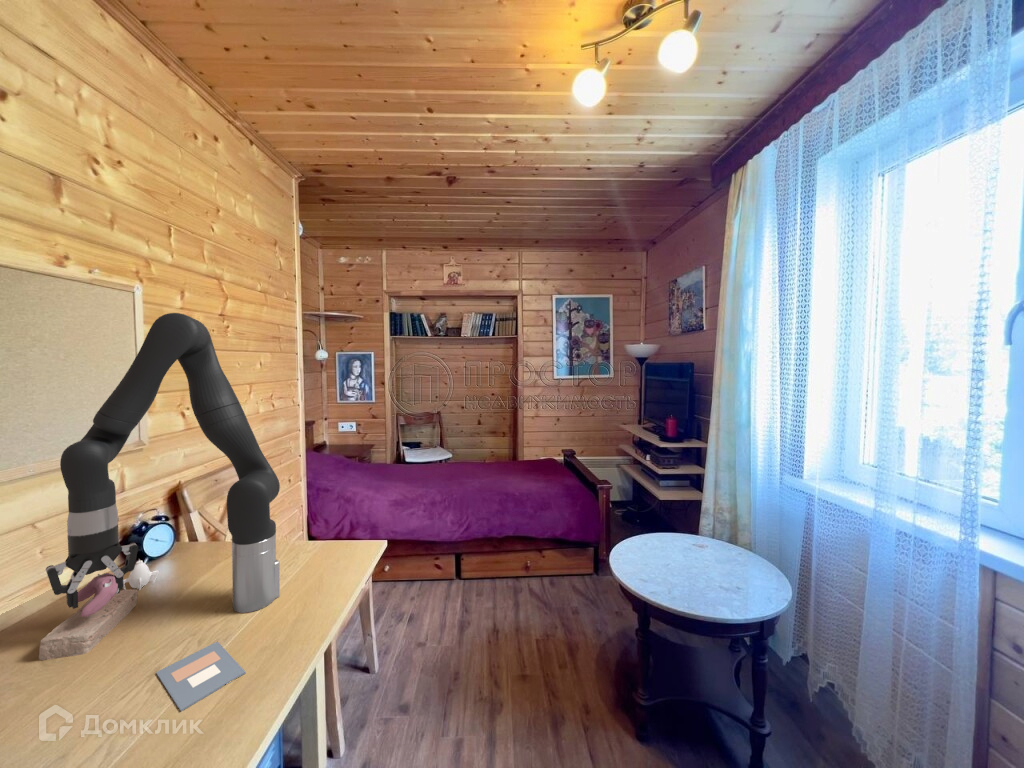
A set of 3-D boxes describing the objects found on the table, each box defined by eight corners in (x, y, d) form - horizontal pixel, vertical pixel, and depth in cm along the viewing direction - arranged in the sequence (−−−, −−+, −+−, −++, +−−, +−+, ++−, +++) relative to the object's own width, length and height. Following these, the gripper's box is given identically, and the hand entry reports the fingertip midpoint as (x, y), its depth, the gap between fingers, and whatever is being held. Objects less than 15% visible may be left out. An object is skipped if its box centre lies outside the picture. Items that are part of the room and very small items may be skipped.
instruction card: (217, 642, 82) (217, 641, 82) (245, 673, 74) (245, 671, 74) (156, 673, 73) (156, 671, 73) (180, 711, 66) (180, 709, 66)
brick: (89, 654, 78) (88, 632, 78) (35, 663, 75) (34, 641, 75) (139, 605, 94) (139, 587, 93) (96, 611, 91) (95, 592, 91)
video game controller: (107, 617, 82) (126, 582, 84) (78, 618, 78) (99, 583, 81) (97, 600, 87) (115, 568, 89) (70, 601, 84) (89, 568, 86)
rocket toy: (139, 581, 103) (139, 553, 103) (159, 581, 103) (159, 553, 103) (119, 593, 98) (118, 563, 97) (140, 593, 98) (139, 564, 97)
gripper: (134, 512, 91) (135, 578, 92) (39, 533, 79) (42, 610, 80) (142, 520, 87) (144, 589, 88) (44, 544, 75) (48, 624, 76)
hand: (96, 599), depth 84 cm, fingers closed on video game controller, 5 cm apart
